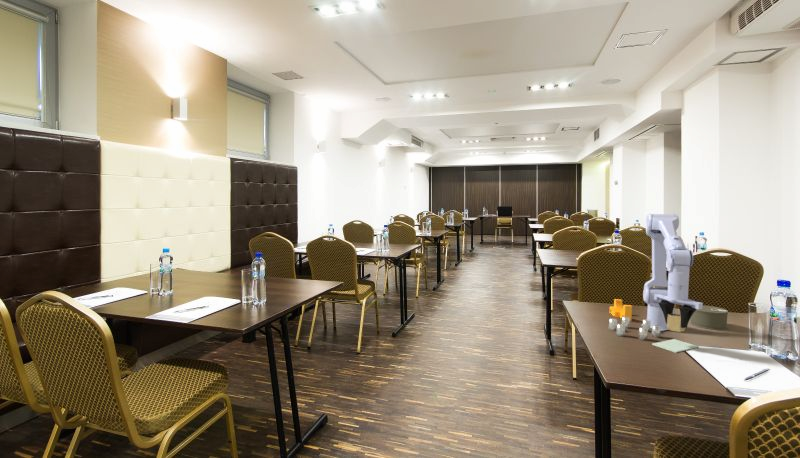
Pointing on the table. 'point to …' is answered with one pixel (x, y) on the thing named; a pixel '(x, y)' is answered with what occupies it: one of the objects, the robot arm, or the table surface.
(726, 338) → the table surface
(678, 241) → the robot arm
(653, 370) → the table surface
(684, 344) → the pad
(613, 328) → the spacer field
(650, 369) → the table surface
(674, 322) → the brass nut
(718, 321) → the can
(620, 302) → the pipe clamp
